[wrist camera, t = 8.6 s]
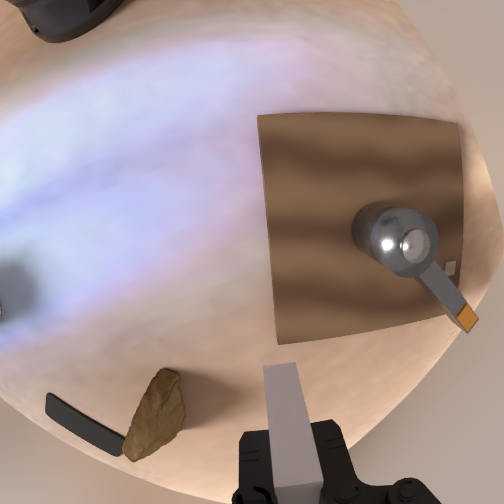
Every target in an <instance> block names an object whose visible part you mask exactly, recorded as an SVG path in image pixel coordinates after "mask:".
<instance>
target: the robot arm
mask: <svg viewBox="0 0 504 504" xmlns="http://www.w3.org/2000/svg"><path fill="white" fill-rule="evenodd" d="M6 1H7V2H9V3H11V4H13V5H14V6H16V7H18V8H19V9H20V11H21V13H22V15H23V17H24V19H25V20H26V22H27V24H28V25H29V27H30V29H31V31H32V32H33V33H34V34H35V35H36V36H37V37H39V38H41V39H42V40H44V41H46V42H49V43H61V42H65V41H68V40H71V39H73V38H76V37H78V36H80V35H82V34H84V33H85V32H87V31H89V30H90V29H92V28H93V27H95V26H96V25H98V24H99V23H100V22H102V21H103V20H104V19H105V18H106V17H108V16H109V15H110V14H111V13H112V12H113V11H114V10H115V9H116V8H117V7H118V6H119V5H120V4H121V2H122V1H123V0H6ZM263 370H264V381H265V392H266V403H267V414H268V426H269V430H259V431H248V432H244V433H243V435H242V437H241V439H240V441H239V488H238V489H237V490H236V491H235V493H234V494H233V497H232V500H231V501H232V504H441V503H440V501H439V500H438V499H437V498H436V497H435V496H434V495H433V494H432V493H431V492H430V490H429V489H428V488H427V487H426V486H425V485H424V484H423V483H422V482H421V481H420V480H418V479H415V478H404V479H401V480H399V481H397V482H396V483H395V484H394V485H385V486H372V485H368V484H365V483H363V482H361V481H360V480H359V479H358V478H357V476H356V474H355V471H354V468H353V465H352V462H351V459H350V456H349V453H348V450H347V447H346V444H345V441H344V439H343V435H342V432H341V429H340V427H339V426H338V425H337V424H336V423H335V422H334V421H333V420H332V419H330V420H325V421H320V422H314V423H310V420H309V416H308V412H307V408H306V404H305V400H304V396H303V392H302V388H301V383H300V379H299V375H298V371H297V367H296V363H295V362H293V363H286V364H278V365H270V366H263Z"/></svg>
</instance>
